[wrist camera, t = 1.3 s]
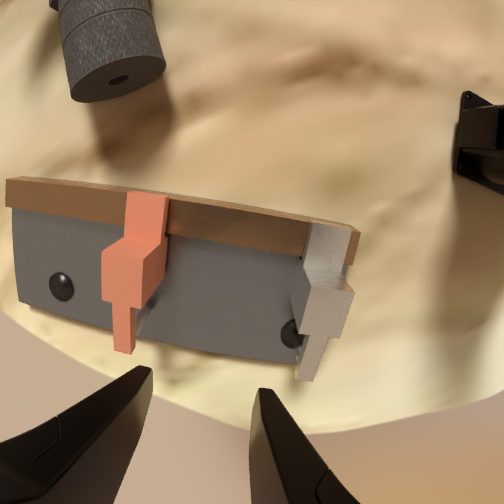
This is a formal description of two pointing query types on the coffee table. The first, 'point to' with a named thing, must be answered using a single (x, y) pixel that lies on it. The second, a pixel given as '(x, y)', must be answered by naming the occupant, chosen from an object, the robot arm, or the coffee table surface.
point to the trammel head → (135, 265)
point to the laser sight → (108, 47)
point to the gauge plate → (190, 270)
